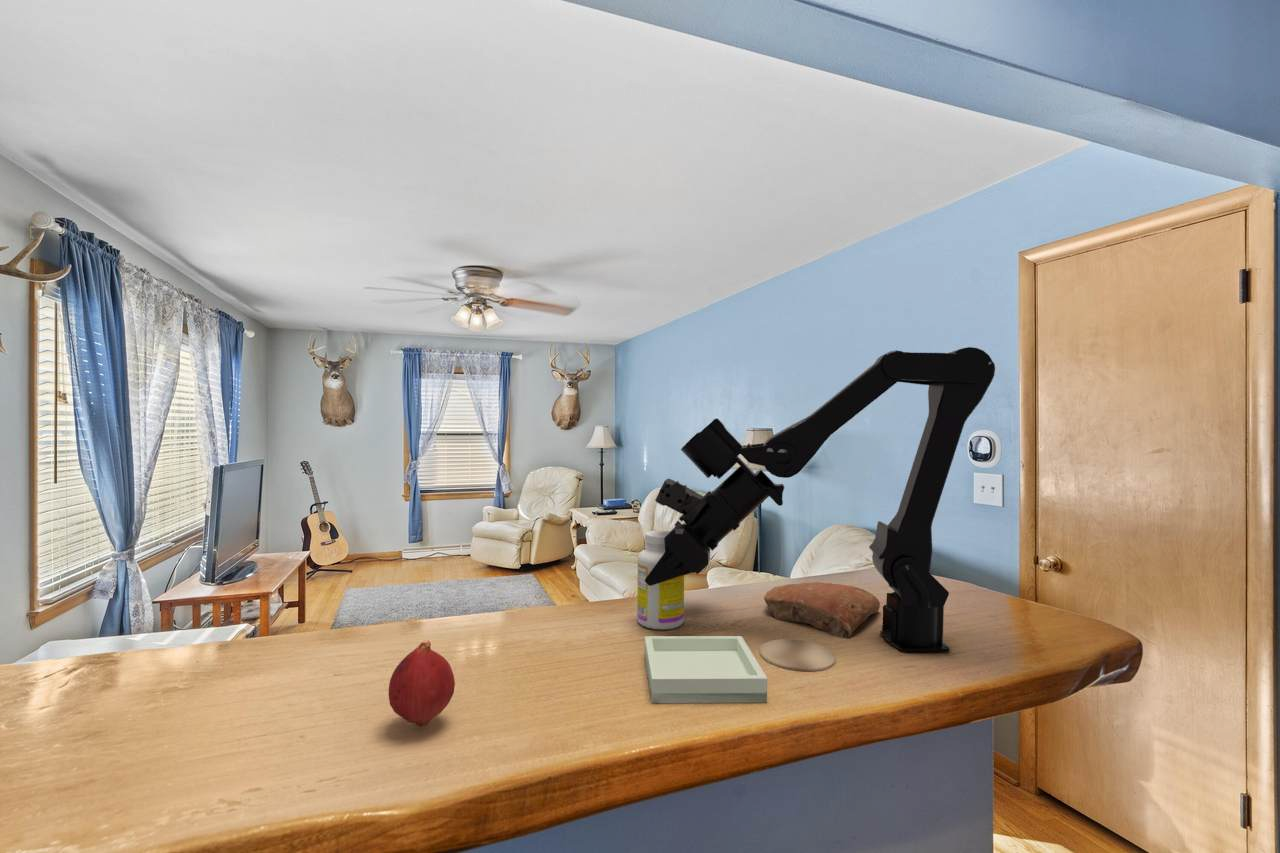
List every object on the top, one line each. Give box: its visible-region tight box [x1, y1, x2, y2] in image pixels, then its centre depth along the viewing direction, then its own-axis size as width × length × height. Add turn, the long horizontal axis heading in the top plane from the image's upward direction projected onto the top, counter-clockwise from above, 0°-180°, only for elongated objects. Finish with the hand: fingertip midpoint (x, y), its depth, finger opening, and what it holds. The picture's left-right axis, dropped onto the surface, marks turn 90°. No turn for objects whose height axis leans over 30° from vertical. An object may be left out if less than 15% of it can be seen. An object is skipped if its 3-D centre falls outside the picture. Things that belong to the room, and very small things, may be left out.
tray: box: [643, 635, 768, 704], centre depth 68 cm, size 12×12×2 cm
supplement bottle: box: [636, 530, 685, 631], centre depth 86 cm, size 7×7×13 cm
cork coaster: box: [759, 638, 836, 672], centre depth 75 cm, size 9×9×1 cm
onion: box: [388, 640, 456, 727], centre depth 57 cm, size 6×6×8 cm
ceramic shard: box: [763, 581, 881, 639], centre depth 91 cm, size 15×6×15 cm
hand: (651, 576), depth 86 cm, fingers open, 7 cm apart
